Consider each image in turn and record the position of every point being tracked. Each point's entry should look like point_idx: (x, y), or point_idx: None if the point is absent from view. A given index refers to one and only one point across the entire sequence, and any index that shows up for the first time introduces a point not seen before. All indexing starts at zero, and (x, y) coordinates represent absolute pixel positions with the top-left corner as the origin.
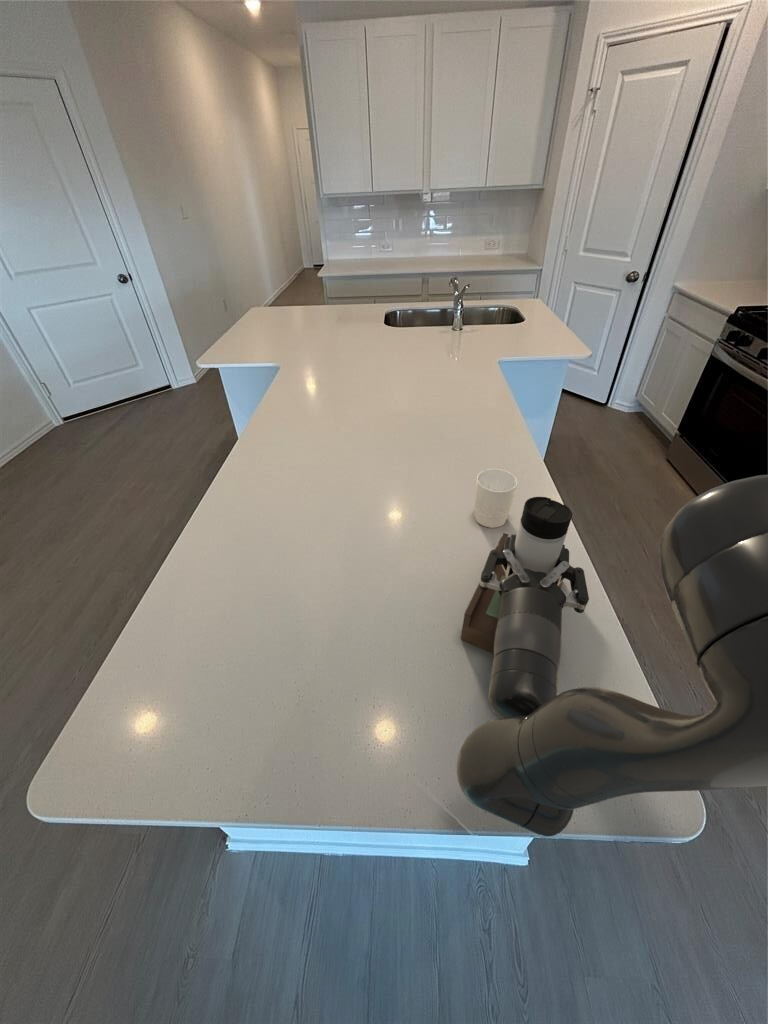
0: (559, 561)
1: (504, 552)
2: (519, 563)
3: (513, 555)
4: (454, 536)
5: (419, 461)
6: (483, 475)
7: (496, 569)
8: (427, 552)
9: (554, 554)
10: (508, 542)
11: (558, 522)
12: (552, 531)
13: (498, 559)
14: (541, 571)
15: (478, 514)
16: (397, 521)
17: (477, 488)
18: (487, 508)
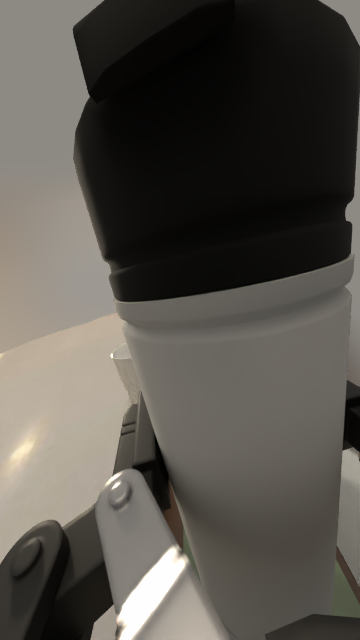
0: (346, 406)
1: (100, 510)
2: (217, 627)
3: (155, 502)
4: (106, 440)
5: (75, 374)
6: (121, 351)
7: (169, 480)
8: (57, 500)
9: (346, 380)
10: (133, 425)
11: (348, 28)
12: (332, 158)
13: (71, 598)
14: (329, 507)
15: (131, 396)
16: (22, 460)
17: (115, 365)
18: (135, 383)
